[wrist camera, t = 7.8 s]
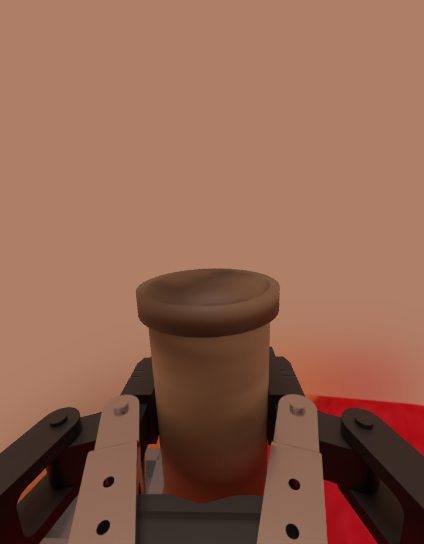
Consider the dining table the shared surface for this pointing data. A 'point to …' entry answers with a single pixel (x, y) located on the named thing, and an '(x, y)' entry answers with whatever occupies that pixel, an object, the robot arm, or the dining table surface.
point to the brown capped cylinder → (211, 378)
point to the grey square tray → (60, 532)
